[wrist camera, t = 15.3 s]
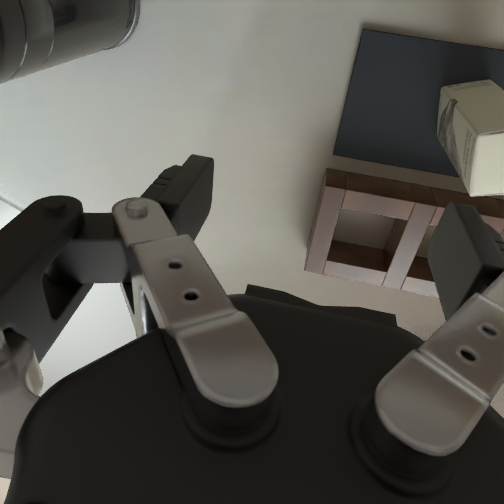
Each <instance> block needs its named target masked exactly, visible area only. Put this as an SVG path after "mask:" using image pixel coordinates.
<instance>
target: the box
mask: <svg viewBox="0 0 504 504" xmlns="http://www.w3.org/2000/svg"><path fill="white" fill-rule="evenodd" d="M437 138H438V139H439V141H440V143H441V145H442V146H443V148H444V150H445V152H446V154H447V155H448V157H449V159H450V161H451V162H452V164H453V166H454V168H455V169H456V171H457V173H458V174H459V177H460V178H461V180H462V182H463V184H464V185H465V187H466V189H467V191H468V193H469V195H470V196H489V195H504V90H503V89H502V88H500V87H499V86H498V85H497V84H496V83H494V82H493V81H492V80H490V79H489V80H481V81H474V82H467V83H461V84H454V85H449V86H444V87H442V88H441V92H440V101H439V111H438V125H437Z"/></svg>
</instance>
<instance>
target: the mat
mask: <svg viewBox="0 0 504 504" xmlns="http://www.w3.org/2000/svg"><path fill="white" fill-rule="evenodd" d="M489 79H490V80H492V81H493V82H494V83H496V84H497V85H498V86H499V87H500V88H502V89H503V90H504V50H499V49H493V48H486V47H479V46H473V45H466V44H459V43H453V42H446V41H439V40H433V39H426V38H420V37H413V36H406V35H400V34H393V33H386V32H380V31H373V30H366V29H363V32H362V36H361V40H360V44H359V48H358V53H357V57H356V61H355V65H354V69H353V73H352V77H351V81H350V85H349V89H348V93H347V98H346V102H345V106H344V110H343V114H342V118H341V122H340V126H339V130H338V134H337V138H336V143H335V147H334V151H333V155H336V156H342V157H348V158H353V159H359V160H364V161H370V162H376V163H381V164H387V165H393V166H398V167H404V168H409V169H415V170H421V171H426V172H432V173H437V174H443V175H449V176H454V177H459V174H458V173H457V171H456V169H455V168H454V166H453V164H452V162H451V161H450V159H449V157H448V155H447V154H446V152H445V150H444V148H443V146H442V145H441V143H440V141H439V139H438V138H437V125H438V111H439V101H440V92H441V88H442V87H444V86H449V85H454V84H461V83H467V82H474V81H481V80H489Z"/></svg>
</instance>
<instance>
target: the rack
mask: <svg viewBox="0 0 504 504" xmlns="http://www.w3.org/2000/svg"><path fill="white" fill-rule="evenodd" d="M450 202H454V203H459V204H465V205H470V206H475V207H476V208H477V210H478V212H479V214H480V215H481V217H482V219H483V221H484V222H485V223H487V224H489V225H490V226H491V227H492V228H494V229H495V230H496V231H497V232H498V233H500V235H501V237H502V238H503V240H504V200H498V199H493V198H487V197H482V196H470V195H469V194H465V193H460V192H454V191H449V190H443V189H438V188H432V187H426V186H421V185H415V184H409V183H405V182H399V181H394V180H388V179H382V178H377V177H371V176H366V175H360V174H355V173H349V172H344V171H338V170H333V169H326V172H325V176H324V180H323V185H322V189H321V193H320V197H319V201H318V205H317V210H316V214H315V218H314V222H313V226H312V230H311V235H310V239H309V243H308V247H307V253H306V260H305V268H304V271H308V272H313V273H318V274H323V275H327V276H332V277H337V278H342V279H347V280H352V281H357V282H362V283H366V284H371V285H376V286H382V287H387V288H392V289H396V290H401V291H406V292H411V293H416V294H421V295H426V296H431V297H435V298H439V296H438V292H437V289H436V286H435V282H434V279H433V276H432V272H431V269H430V266H429V262H428V259H425V258H420V257H415V255H416V253H417V251H418V248H419V246H420V244H421V242H422V239H423V237H424V235H425V233H426V230H427V228H428V226H429V224H430V225H435V226H437V225H438V222H439V220H440V218H441V216H442V214H443V212H444V210H445V208H446V206H447V205H448V204H449V203H450ZM341 208H345V209H350V210H356V211H361V212H366V213H371V214H377V215H382V216H387V217H393V218H396V220H395V223H394V225H393V228H392V231H391V233H390V236H389V238H388V241H387V244H386V246H385V249H384V250H379V249H374V248H369V247H364V246H359V245H354V244H349V243H344V242H339V241H333V240H332V238H333V235H334V231H335V227H336V224H337V220H338V217H339V213H340V210H341Z"/></svg>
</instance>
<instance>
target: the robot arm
mask: <svg viewBox="0 0 504 504" xmlns="http://www.w3.org/2000/svg"><path fill="white" fill-rule="evenodd" d="M139 14H140V0H0V84H1V83H4V82H7V81H10V80H13V79H16V78H19V77H22V76H25V75H28V74H31V73H34V72H37V71H40V70H43V69H46V68H49V67H52V66H55V65H58V64H61V63H64V62H67V61H70V60H73V59H77V58H80V57H83V56H86V55H89V54H92V53H95V52H98V51H101V50H107V49H111V48H114V47H117V46H119V45H121V44H123V43H124V42H125V41H127V40H128V39H129V38H130V36H131V35H132V34H133V32H134V30H135V28H136V26H137V23H138V19H139ZM213 172H214V160H213V158H210V157H204V156H199V155H194V154H192V155H191V156H190V157H189V158H188V159H187V161H186V162H185V163H184V164H183V165H182V166H178V165H174V166H172V167H170V168H168V169H165V170H164V171H163V172H162V173H161V174H160V175H159V176H158V178H157V179H156V180H155V181H154V182H153V184H151V185H150V186H149V188H148V189H147V190H146V191H145V192H144V193H143V194H142V195H141V197H135V198H127V199H124V200H121V201H119V202H117V203H116V204H115V205H114V206H113V207H112V213H83V207H82V203H81V202H80V201H79V200H78V199H76V198H73V197H70V196H60V195H59V196H49V197H45V198H41V199H39V200H36V201H35V202H33V203H32V204H30V205H29V206H28V207H27V208H26V209H24V210H23V211H22V212H21V213H20V214H19V215H17V216H16V217H15V218H14V219H13V220H11V221H10V222H9V223H8V224H7V225H6V226H4V227H3V228H2V229H1V230H0V477H3V478H8V479H11V482H10V486H9V489H8V493H7V496H6V499H5V502H4V504H504V419H503V418H502V417H501V416H500V415H499V414H498V413H497V412H496V411H495V410H494V409H493V408H492V407H491V406H490V403H491V400H492V399H493V397H494V396H495V394H496V393H497V391H498V390H499V388H500V387H501V385H502V384H503V383H504V240H503V238H502V237H501V235H500V233H498V232H497V231H496V230H495V229H494V228H492V227H491V226H490V225H489V224H487V223H485V222H484V221H483V219H482V217H481V215H480V214H479V212H478V210H477V208H476V207H475V206H470V205H465V204H459V203H454V202H450V203H449V204H448V205H447V206H446V208H445V210H444V212H443V214H442V216H441V218H440V220H439V222H438V225H437V227H436V229H435V231H434V233H433V235H432V238H431V240H430V242H429V245H428V250H427V259H428V262H429V266H430V269H431V272H432V276H433V279H434V282H435V286H436V289H437V292H438V296H439V299H440V302H441V306H442V309H443V312H444V315H445V319H446V322H445V323H444V324H443V325H442V326H441V327H440V328H439V329H438V330H437V331H436V332H435V333H434V334H433V335H432V336H431V337H430V338H429V339H428V340H427V341H426V342H424V341H423V340H422V339H420V338H419V337H417V336H416V335H414V334H412V333H411V332H409V331H407V330H405V329H403V328H400V327H398V326H397V323H396V316H395V314H390V313H385V312H380V311H375V310H370V309H366V308H361V307H340V306H320V305H316V304H314V303H311V302H309V301H306V300H304V299H301V298H299V297H296V296H294V295H291V294H289V293H286V292H284V291H279V290H274V289H269V288H264V287H260V286H255V285H250V284H248V285H247V289H246V292H245V294H231V295H227V294H226V293H225V291H224V289H223V288H222V286H221V285H220V283H219V281H218V280H217V278H216V277H215V275H214V273H213V272H212V270H211V269H210V267H209V265H208V264H207V262H206V261H205V259H204V257H203V256H202V254H201V253H200V251H199V249H198V248H197V246H196V245H195V243H194V240H195V238H196V236H197V235H198V233H199V231H200V229H201V227H202V225H203V224H204V222H205V220H206V218H207V216H208V214H209V211H210V208H211V202H212V189H213ZM94 283H120V286H121V289H122V292H123V295H124V298H125V301H126V304H127V307H128V310H129V312H130V315H131V318H132V321H133V324H134V327H135V331H136V336H137V339H135V340H133V341H131V342H129V343H127V344H125V345H124V346H122V347H120V348H118V349H116V350H114V351H112V352H110V353H108V354H107V355H105V356H103V357H101V358H99V359H97V360H95V361H93V362H91V363H90V364H88V365H86V366H84V367H82V368H80V369H78V370H77V371H75V372H73V373H71V374H69V375H68V376H66V377H64V378H63V379H61V380H59V381H58V382H57V383H55V384H54V385H53V386H52V387H50V388H49V389H48V390H47V391H46V392H45V393H44V394H43V395H42V396H41V397H40V396H39V394H40V391H41V389H42V386H43V376H42V372H41V369H40V366H39V363H40V362H41V360H42V358H43V357H44V356H45V355H46V353H47V352H48V350H49V349H50V347H51V346H52V344H53V343H54V341H55V340H56V338H57V337H58V336H59V334H60V333H61V331H62V330H63V328H64V327H65V325H66V324H67V323H68V321H69V320H70V318H71V317H72V315H73V314H74V312H75V311H76V309H77V308H78V307H79V305H80V304H81V302H82V301H83V299H84V298H85V296H86V295H87V293H88V292H89V290H90V289H91V288H92V286H93V284H94Z"/></svg>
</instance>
